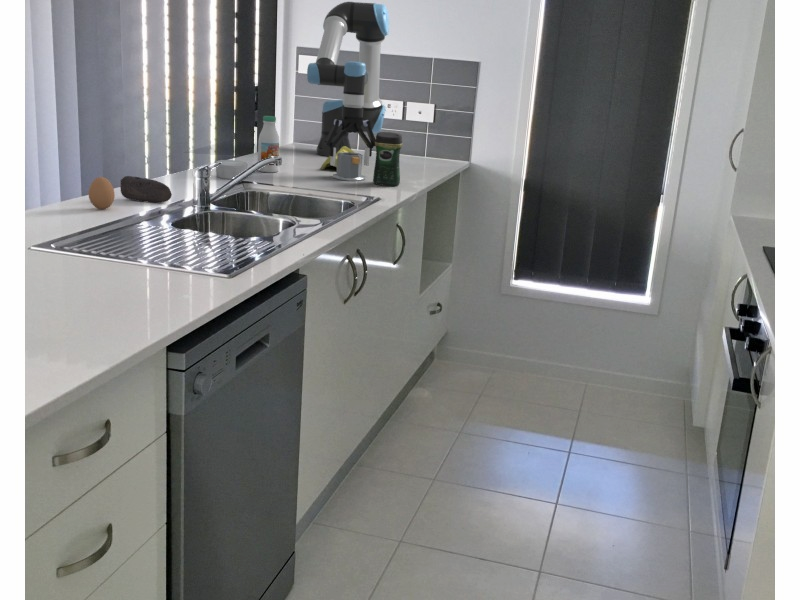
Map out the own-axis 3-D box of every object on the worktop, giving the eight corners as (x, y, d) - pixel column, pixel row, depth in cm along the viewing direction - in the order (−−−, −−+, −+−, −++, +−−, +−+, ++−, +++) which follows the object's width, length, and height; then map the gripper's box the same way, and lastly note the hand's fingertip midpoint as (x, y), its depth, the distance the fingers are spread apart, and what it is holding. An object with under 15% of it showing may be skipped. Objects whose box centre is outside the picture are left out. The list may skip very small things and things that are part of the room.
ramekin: (227, 181, 290) (228, 166, 288) (208, 175, 297) (208, 160, 295) (254, 179, 298) (254, 164, 296) (234, 173, 305) (234, 159, 303)
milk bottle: (253, 171, 313) (254, 115, 307) (264, 168, 320) (265, 114, 314) (271, 173, 310) (273, 118, 304) (282, 171, 317) (284, 116, 311)
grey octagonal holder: (354, 173, 319) (355, 152, 316) (366, 178, 310) (368, 156, 307) (333, 174, 315) (334, 152, 312) (345, 179, 306) (346, 156, 303)
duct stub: (337, 174, 320) (339, 152, 317) (368, 177, 318) (370, 156, 315) (328, 178, 309) (329, 156, 306) (360, 182, 306) (361, 160, 304)
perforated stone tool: (175, 202, 251) (175, 179, 249) (167, 206, 246) (167, 182, 244) (127, 197, 253) (127, 174, 251) (119, 200, 248) (118, 176, 246)
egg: (117, 211, 234) (116, 179, 232) (92, 212, 231) (91, 179, 228) (111, 206, 240) (110, 174, 237) (86, 207, 236) (85, 175, 234)
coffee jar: (401, 184, 310) (405, 132, 304) (396, 187, 302) (400, 134, 297) (375, 181, 311) (378, 129, 306) (370, 184, 304) (373, 132, 298)
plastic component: (350, 166, 325) (327, 153, 324) (341, 183, 328) (319, 169, 327) (362, 156, 343) (341, 143, 343) (354, 171, 346) (333, 159, 346)
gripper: (379, 106, 314) (375, 163, 321) (316, 104, 303) (314, 163, 309) (388, 108, 308) (384, 166, 314) (325, 106, 296) (322, 167, 303)
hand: (349, 165), depth 312 cm, fingers open, 13 cm apart
